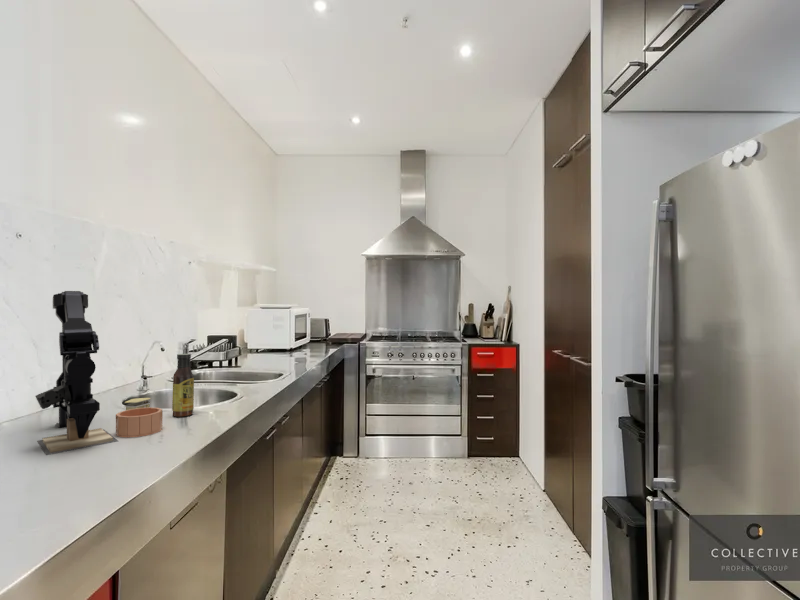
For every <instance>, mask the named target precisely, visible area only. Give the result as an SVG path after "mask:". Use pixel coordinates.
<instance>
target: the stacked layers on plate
mask: <svg viewBox="0 0 800 600" xmlns="http://www.w3.org/2000/svg"><path fill="white" fill-rule="evenodd" d="M149 400H151V397H141V398H139V397H136V398H131V399H129V400H126V401H125V403H128V404H126V405H125V406H123V407H124V408H125V410H130V409H136V408H148V407H150V404H151V403H152V402H151V401H149Z"/></svg>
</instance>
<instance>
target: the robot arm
mask: <svg viewBox="0 0 800 600" xmlns="http://www.w3.org/2000/svg"><path fill="white" fill-rule="evenodd" d="M87 308H89V294H86V293H84V292H83V291H80V290H64V291H61V293H59V292H58V293H56V294H53V296H52V309H53V310H54V309H55V316H56V317H57V318H58V320H59V321H60V322H61V331H60V332H59V336H58V337H59V338H58V344H59V355H60V356H61V357H62V360H61V361H62V372H61V373H60V375H59V376H58V378H57V379H56V381H55V386H53V388H50V389H48V390H45V391H43V392H40V393H38V394H36V395H35V396H34V397H35V399H36V401H37V403H38V405H39V406H40V407H39V408H41V409H42V410H45V409H47V408H49V407H51V406H53V409H56V408H58V422H55V427H57V428H58V429H63V428H64V429H65V428H67V419H70V418H73V419H74V420H75V425H76V430H77V434H78V438H84V436H85V434H86V432H87V430H88V428H90V426H91V424H92V422H93V420H94V419H95V416H96V414H97V413H98V412H99V411H100V409H101V408H100V405H101V403H100V402H99V401H98V400H96V399H94V398H93V396H94V394H93V393H91V392H92V383H94V382H93V381H94V380H93V379H94V378H92V376H93V375H94V373H95V371H96V364H95V361H94V360H92V358H91V357H92V356H91V354H97V353H98V351H99V350H100V343H99V335H98V334H97V331H95V330H93V327H92V323H90V322H88V321H86V317H85V313H86V309H87Z"/></svg>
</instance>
